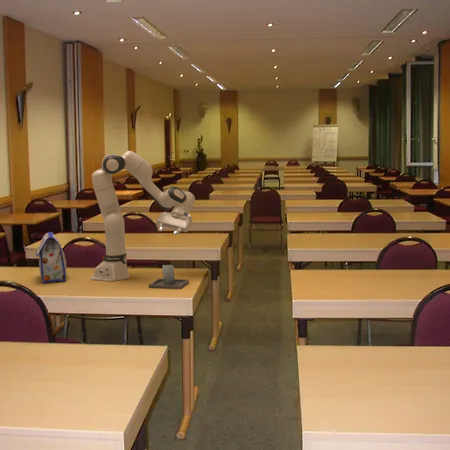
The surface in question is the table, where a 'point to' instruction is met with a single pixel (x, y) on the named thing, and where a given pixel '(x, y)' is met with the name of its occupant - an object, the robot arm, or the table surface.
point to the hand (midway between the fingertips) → (167, 232)
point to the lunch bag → (51, 259)
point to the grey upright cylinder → (168, 275)
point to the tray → (178, 285)
